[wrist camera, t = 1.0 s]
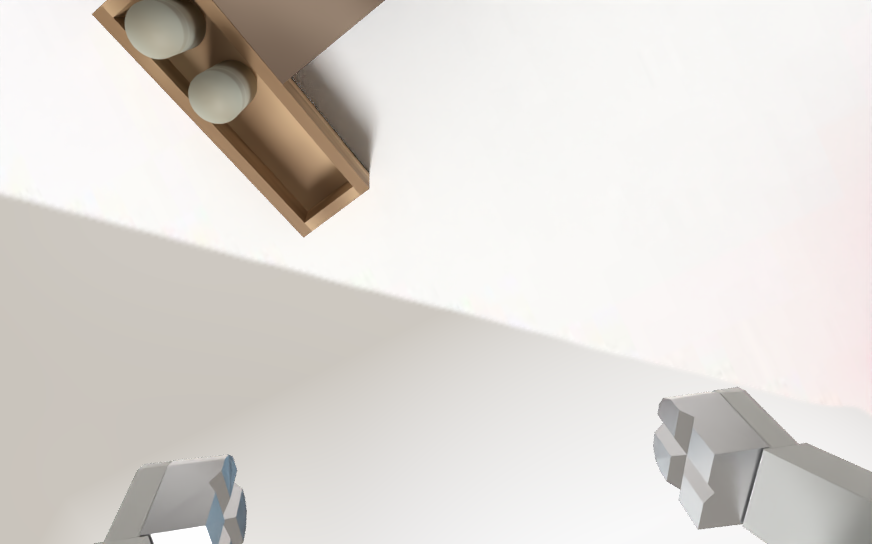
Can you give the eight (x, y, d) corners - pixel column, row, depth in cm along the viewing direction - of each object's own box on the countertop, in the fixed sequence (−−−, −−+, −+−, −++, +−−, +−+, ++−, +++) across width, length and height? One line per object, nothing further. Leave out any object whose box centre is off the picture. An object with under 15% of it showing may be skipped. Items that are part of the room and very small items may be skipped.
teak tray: (184, -53, 34) (149, -58, 29) (369, 173, 42) (369, 202, 37) (116, 11, 36) (69, 17, 30) (308, 219, 43) (299, 253, 38)
